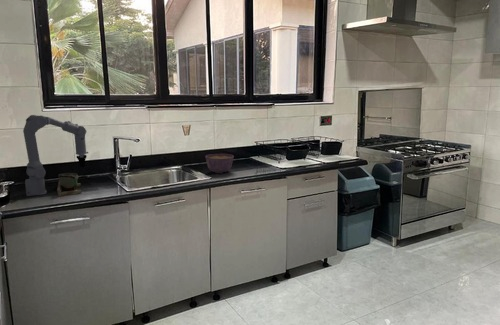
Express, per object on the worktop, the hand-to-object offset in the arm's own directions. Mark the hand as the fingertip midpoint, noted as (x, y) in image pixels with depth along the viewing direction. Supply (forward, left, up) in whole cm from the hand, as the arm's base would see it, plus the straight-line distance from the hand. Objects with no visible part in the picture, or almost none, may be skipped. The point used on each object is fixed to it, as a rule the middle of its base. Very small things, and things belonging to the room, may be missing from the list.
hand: (82, 167), depth 231 cm
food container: (-7, -15, -11) cm, 20 cm away
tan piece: (-8, -15, -10) cm, 20 cm away
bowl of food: (+88, -7, -11) cm, 89 cm away
